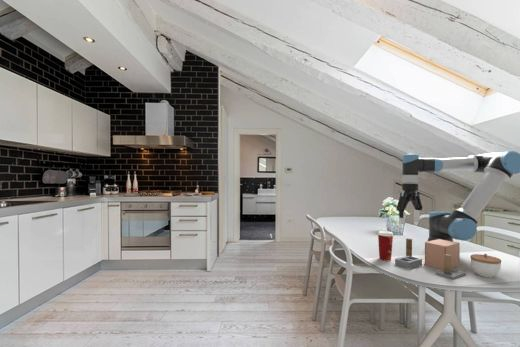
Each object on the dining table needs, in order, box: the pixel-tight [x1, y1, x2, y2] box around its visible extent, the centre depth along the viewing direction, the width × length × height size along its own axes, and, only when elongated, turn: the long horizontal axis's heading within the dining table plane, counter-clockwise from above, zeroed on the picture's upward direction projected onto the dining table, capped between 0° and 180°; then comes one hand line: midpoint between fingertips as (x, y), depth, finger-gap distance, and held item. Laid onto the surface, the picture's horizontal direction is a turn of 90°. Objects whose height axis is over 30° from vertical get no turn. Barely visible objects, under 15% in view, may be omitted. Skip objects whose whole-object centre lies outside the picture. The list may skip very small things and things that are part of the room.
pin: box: [405, 237, 413, 257], centre depth 150 cm, size 3×3×10 cm
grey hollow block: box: [394, 255, 423, 270], centre depth 138 cm, size 11×7×3 cm, turn 121°
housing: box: [424, 239, 461, 270], centre depth 139 cm, size 13×9×11 cm
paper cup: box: [377, 230, 394, 261], centre depth 148 cm, size 8×8×14 cm
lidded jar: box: [470, 253, 502, 279], centre depth 125 cm, size 11×11×9 cm
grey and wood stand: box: [435, 254, 466, 280], centre depth 125 cm, size 11×7×9 cm, turn 121°
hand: (409, 223), depth 150 cm, fingers open, 13 cm apart
